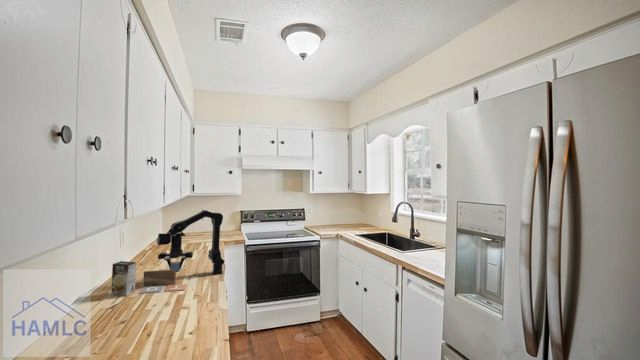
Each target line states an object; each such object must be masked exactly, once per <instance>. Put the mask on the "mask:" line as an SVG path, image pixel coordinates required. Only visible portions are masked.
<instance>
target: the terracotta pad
mask: <svg viewBox="0 0 640 360" xmlns="http://www.w3.org/2000/svg"><path fill="white" fill-rule="evenodd" d="M166 286H167V287H166V288H165V289H164V292H165V293H169V292H181V291H182V292H183V291H184V292H185V290H186V289H187V286H188V284H187V283H184V284H183V283H182V284H180V283H179V284H175V285H166Z"/></svg>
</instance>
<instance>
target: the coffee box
mask: <svg viewBox="0 0 640 360" xmlns="http://www.w3.org/2000/svg"><path fill="white" fill-rule="evenodd" d="M111 271H112V272H111V290H110V295H111V296H118V295H119V296H122V297H128V296H129V295H132V294H134V293H135V291H136V289H135V288H136V276H137V275H136V273H137V262H136V261H123V260H120V261H117V262H115V263H112V270H111Z"/></svg>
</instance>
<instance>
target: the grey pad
mask: <svg viewBox="0 0 640 360" xmlns="http://www.w3.org/2000/svg"><path fill="white" fill-rule="evenodd" d="M164 287H165V285H162V286H146V287H142V289H141V290H140V291H139V294H140V295H141V294H155V293H162V291H163V289H164Z"/></svg>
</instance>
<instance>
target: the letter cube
mask: <svg viewBox="0 0 640 360" xmlns="http://www.w3.org/2000/svg"><path fill="white" fill-rule="evenodd" d="M180 263H181V261H171V264H170V268H169V270H176V273H180V272H181V269H182V268H181V269H180Z"/></svg>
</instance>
